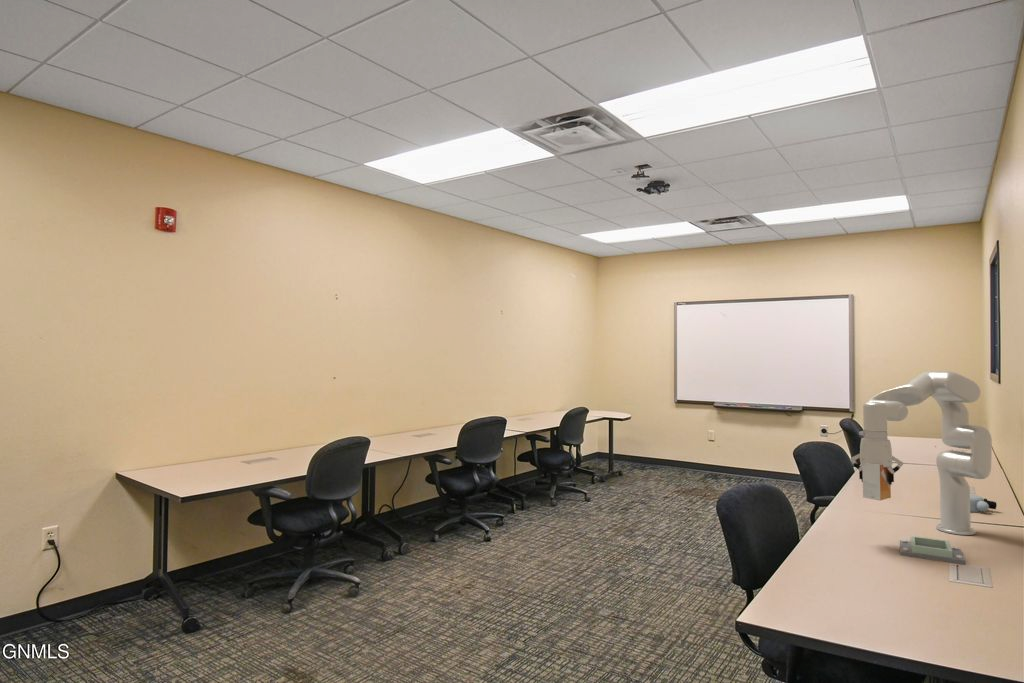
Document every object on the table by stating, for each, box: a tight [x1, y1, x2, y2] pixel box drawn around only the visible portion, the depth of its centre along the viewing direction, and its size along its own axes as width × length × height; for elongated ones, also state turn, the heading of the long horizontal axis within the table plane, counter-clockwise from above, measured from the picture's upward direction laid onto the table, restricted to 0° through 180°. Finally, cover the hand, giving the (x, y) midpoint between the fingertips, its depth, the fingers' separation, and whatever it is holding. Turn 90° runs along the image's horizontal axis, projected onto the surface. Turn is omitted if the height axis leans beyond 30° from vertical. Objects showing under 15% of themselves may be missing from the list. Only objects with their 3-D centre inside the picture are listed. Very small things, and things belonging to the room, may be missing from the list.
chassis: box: [899, 535, 966, 565], centre depth 207 cm, size 15×18×4 cm
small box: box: [862, 463, 892, 501], centre depth 217 cm, size 8×6×13 cm
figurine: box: [970, 492, 997, 513], centre depth 267 cm, size 17×8×20 cm
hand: (876, 482), depth 217 cm, fingers closed on small box, 8 cm apart
